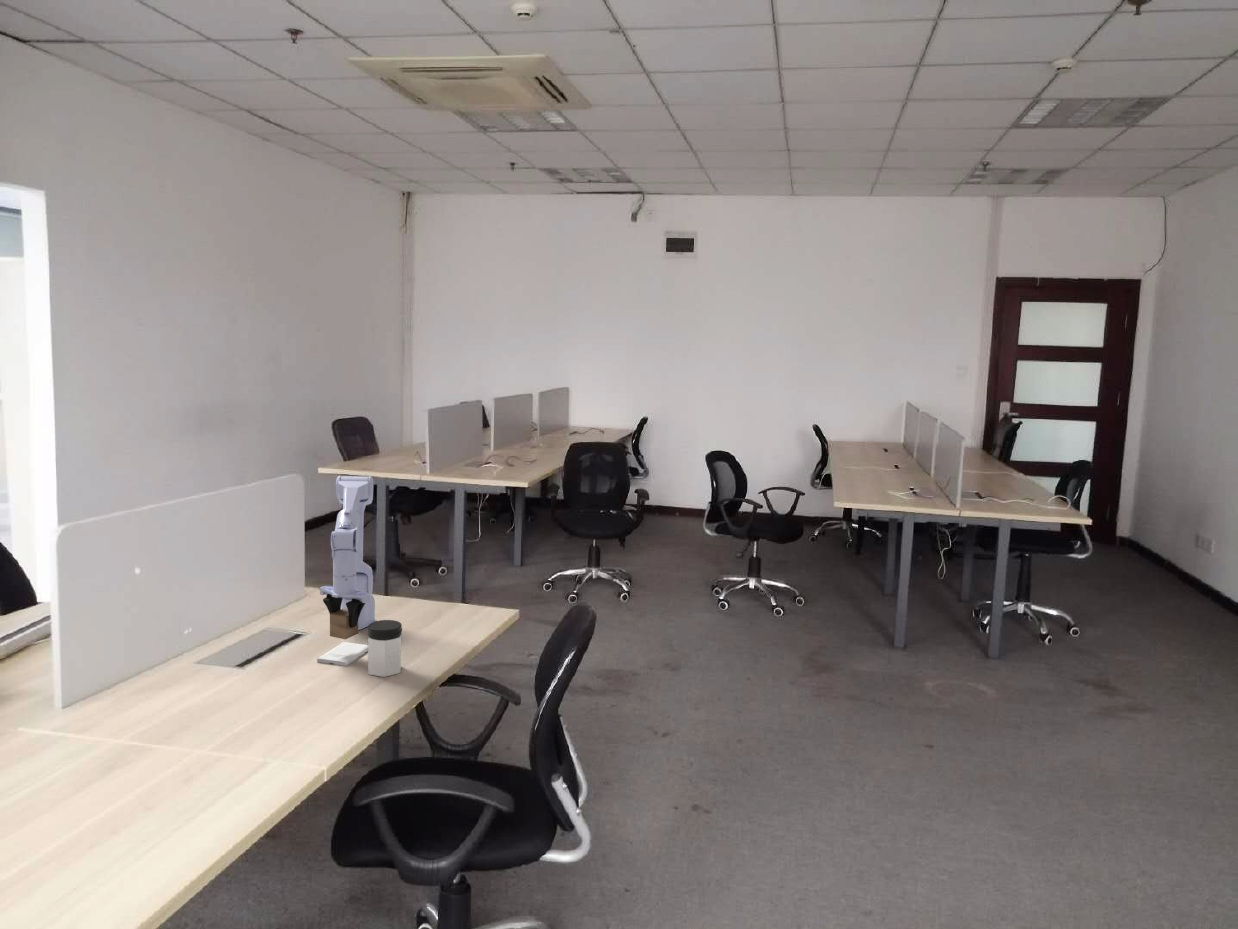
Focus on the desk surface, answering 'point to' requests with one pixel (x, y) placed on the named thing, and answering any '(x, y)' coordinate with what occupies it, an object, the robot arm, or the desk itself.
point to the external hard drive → (343, 654)
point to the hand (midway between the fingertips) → (344, 624)
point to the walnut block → (341, 625)
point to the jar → (384, 648)
